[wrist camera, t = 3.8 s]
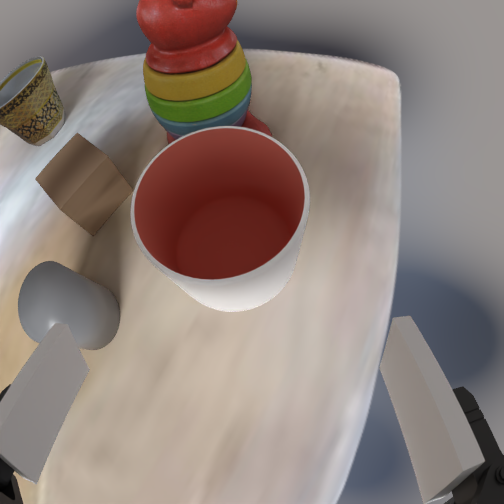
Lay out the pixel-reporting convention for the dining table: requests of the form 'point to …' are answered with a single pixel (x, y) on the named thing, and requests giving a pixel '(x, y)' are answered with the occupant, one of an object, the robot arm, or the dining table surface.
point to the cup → (223, 215)
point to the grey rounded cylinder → (67, 306)
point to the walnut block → (84, 184)
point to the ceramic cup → (31, 102)
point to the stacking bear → (195, 66)
